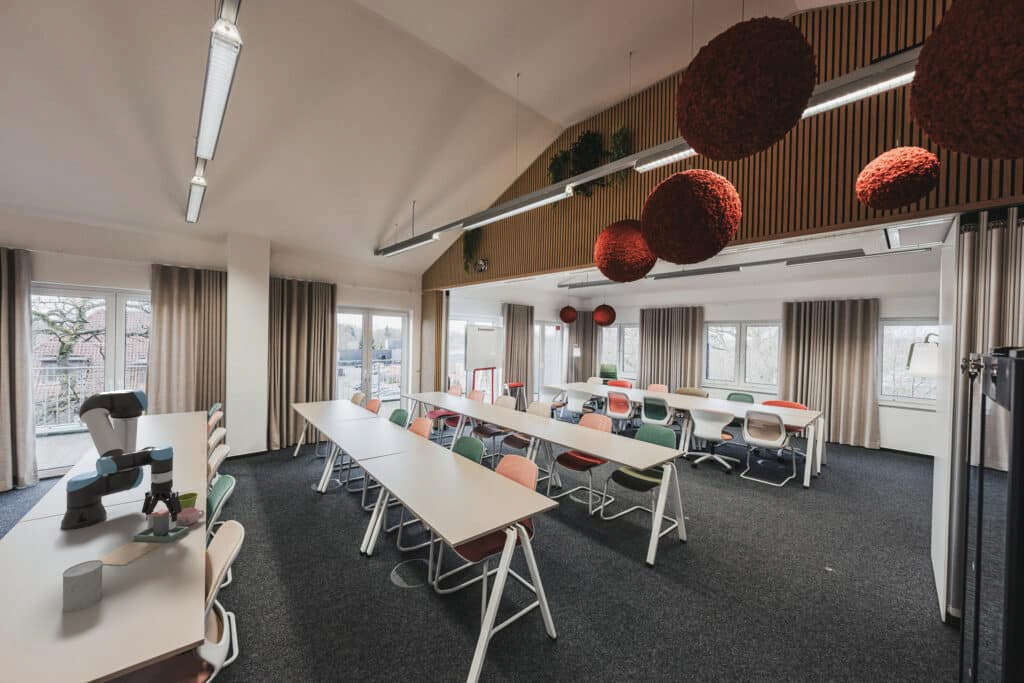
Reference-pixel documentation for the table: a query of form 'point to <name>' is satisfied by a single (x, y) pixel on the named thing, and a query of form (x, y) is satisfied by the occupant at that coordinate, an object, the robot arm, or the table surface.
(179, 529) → the tray
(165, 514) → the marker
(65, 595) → the grey stone cylinder
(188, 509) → the mug
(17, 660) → the table surface
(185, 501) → the plant pot
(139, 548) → the tan board
